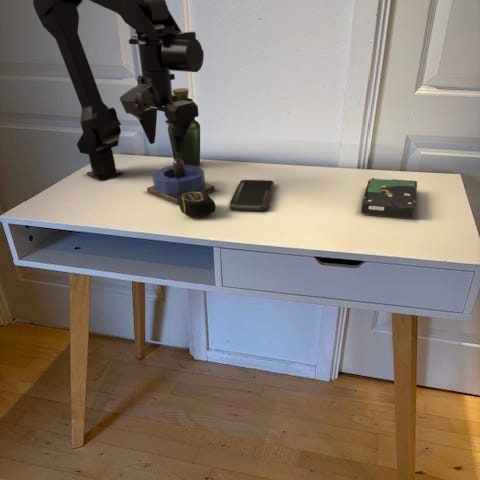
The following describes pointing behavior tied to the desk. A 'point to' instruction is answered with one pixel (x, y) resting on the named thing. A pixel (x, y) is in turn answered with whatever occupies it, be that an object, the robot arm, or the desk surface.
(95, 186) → the desk surface
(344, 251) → the desk surface
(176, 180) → the ring
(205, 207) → the tape measure
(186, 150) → the potion bottle
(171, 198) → the post
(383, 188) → the disk drive
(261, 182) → the phone
